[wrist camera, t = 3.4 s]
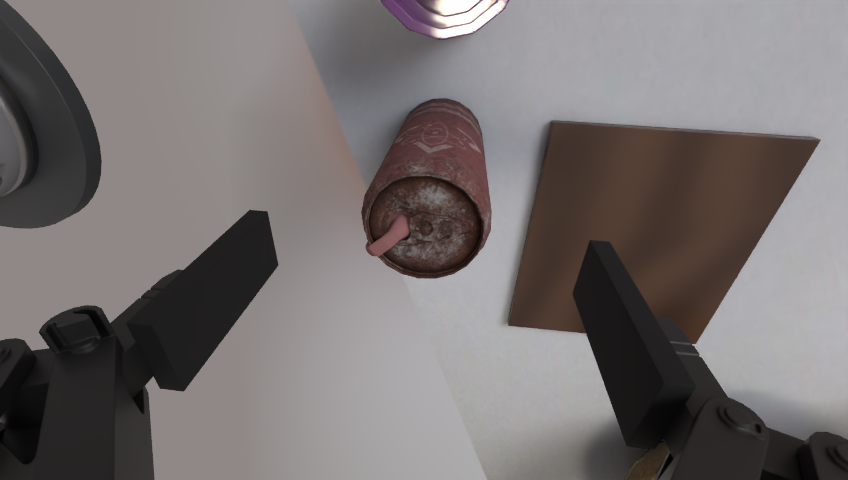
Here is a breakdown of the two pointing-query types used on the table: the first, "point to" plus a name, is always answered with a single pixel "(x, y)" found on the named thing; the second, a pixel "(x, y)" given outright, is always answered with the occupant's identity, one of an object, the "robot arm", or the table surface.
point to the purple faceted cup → (445, 15)
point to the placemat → (651, 215)
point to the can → (430, 194)
